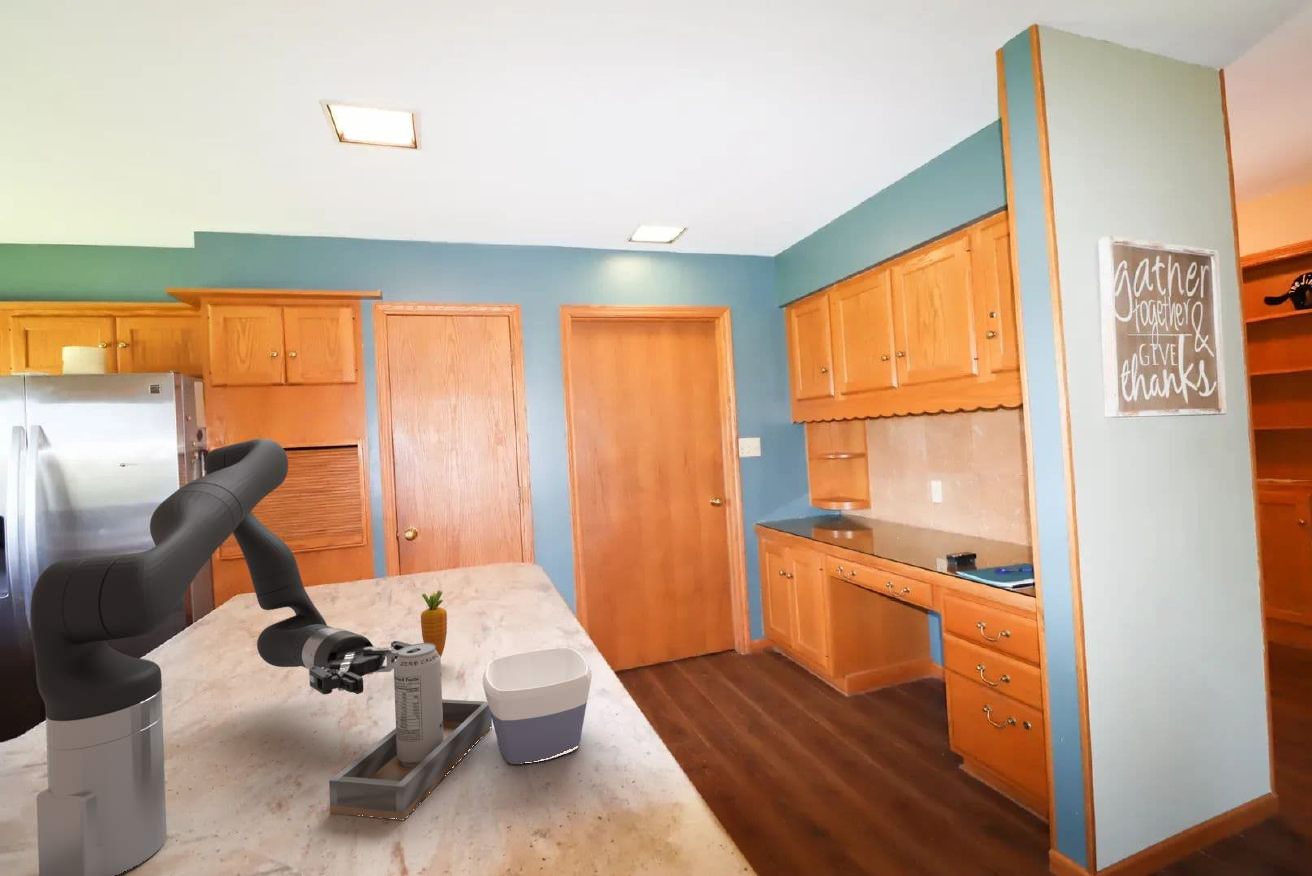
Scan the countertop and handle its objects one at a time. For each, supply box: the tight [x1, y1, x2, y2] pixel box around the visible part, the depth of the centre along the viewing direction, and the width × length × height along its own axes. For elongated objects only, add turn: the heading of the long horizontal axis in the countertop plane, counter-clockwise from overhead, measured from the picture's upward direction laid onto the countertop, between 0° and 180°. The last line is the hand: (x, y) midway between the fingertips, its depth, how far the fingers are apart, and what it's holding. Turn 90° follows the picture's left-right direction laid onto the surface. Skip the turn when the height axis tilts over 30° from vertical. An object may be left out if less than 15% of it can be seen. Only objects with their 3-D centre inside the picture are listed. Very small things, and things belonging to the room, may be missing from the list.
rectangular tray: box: [328, 698, 493, 819], centre depth 79 cm, size 22×10×4 cm, turn 169°
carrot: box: [420, 589, 448, 659], centre depth 116 cm, size 5×5×15 cm
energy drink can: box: [393, 642, 444, 767], centre depth 79 cm, size 6×6×15 cm
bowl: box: [482, 647, 593, 765], centre depth 84 cm, size 15×15×11 cm
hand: (390, 675), depth 83 cm, fingers open, 8 cm apart
